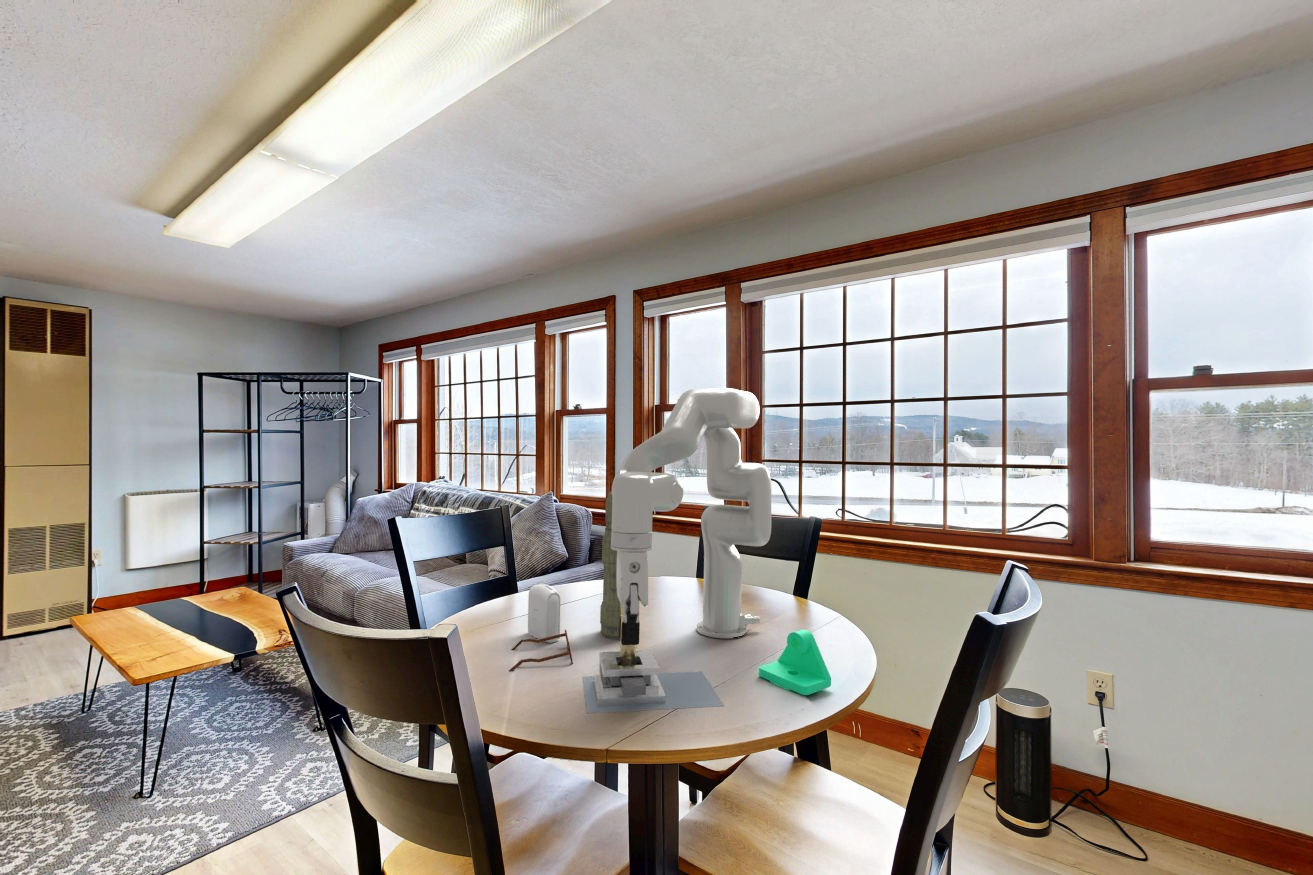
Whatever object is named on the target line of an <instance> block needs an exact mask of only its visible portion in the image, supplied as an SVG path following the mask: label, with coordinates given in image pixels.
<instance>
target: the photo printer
mask: <svg viewBox="0 0 1313 875" xmlns="http://www.w3.org/2000/svg"><path fill="white" fill-rule="evenodd" d="M527 602H528V603H527V606H528V609H527V633H528V634H529V635H531V636H532V637H534V638H536V639H537V640H538V639H542V638H546V637H551V636H555V635H559V634H561V628H560V627H561V596H560V594H559V592H558V591H557V590H556V589H555V588H554V587H552V586H550V585H548V584H547V583H546V584H545V583H539V584H534V585H532V586H531V587H530V589H529V591H528V600H527ZM559 639H560V638H555V639H551V640H547V641H544V642H546V643H548V644H549V643H555V642H558V641H559Z"/></svg>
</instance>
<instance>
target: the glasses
mask: <svg viewBox="0 0 1313 875" xmlns="http://www.w3.org/2000/svg"><path fill="white" fill-rule="evenodd" d="M563 637H565V641H566V646H567V651H564V652H561V653H558V654H553V655H549V656H545V657H542V658H530V657H529V658H525V659H524V658H523V659H520V661H518V662H517V663H516V664H515V665H514V666H511V668H510V669H509V670H508V672H513V671H514V670H516V669H517V668H519V667H520V666H521V665H522V664H523V663H530V662H531V663H542V662H545V661H549V660H550V661H551V660H554V659H558V658H562V657H565V656H568V657H569V659H570V660H569V661H570V664H571V665H573V664H574V662H573V658H572V651H571V645H570V641H569V638H568V633H567V629H564V633H560V634H559V635H555V636H551V637H546V638H542V639H538V638H536V639H535V638H525V639H521V640H519V641H518V642H517V643H516V644H515V645H514V646H513V647H512V648H511V649H510V651H515V650H516V649H518V647H519V646H521V644H523V643H528V642H529V643H535V644H536V643H537V644H538V643H542V642H543V643H544V642H545V641H547V640H551V639H555V638H559V639H560V638H563Z"/></svg>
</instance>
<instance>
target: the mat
mask: <svg viewBox="0 0 1313 875" xmlns="http://www.w3.org/2000/svg"><path fill="white" fill-rule="evenodd" d="M657 677H658V679H659V682H660V684H661V686H662V688H663V690H664V693H665V695H666V703H649V704H629V705H610V706H598V705H597V699H596V693H595V687H594V675H591V676H589V675H588V676H582V685H583V686H582V687H583V693H584V701H585V710H586V714H601V713H619V712H620V713H621V712H622V713H623V712H624V713H625V712H637V711H639V712H641V711H642V712H643V711H658V710H661V711H662V710H675V709H677V710H678V709H695V708H713V707H715V708H716V707H717V708H718V707H725V704H724V703H723V701H722V700H721V698H720V696H719V695H718V694H717V692H716V691H715V689H714V688H713V686H712V685H711V683H710V682H709V680H708V679H707V677H706V676H705V674H704V672H703V671H685V672H684V671H683V672H681V671H680V672H659V675H657Z"/></svg>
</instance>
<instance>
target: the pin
mask: <svg viewBox="0 0 1313 875" xmlns="http://www.w3.org/2000/svg"><path fill="white" fill-rule="evenodd" d="M626 603H627V605H630V602H626ZM628 610H630V609H627V612H628ZM623 616H624V607H623V606H621V633H622V622H623ZM619 644H620V650H619V651H620V666H626V665H636V655H637V651H638V649H637V647H638V645H622V643H621V642H620V643H619Z"/></svg>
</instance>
